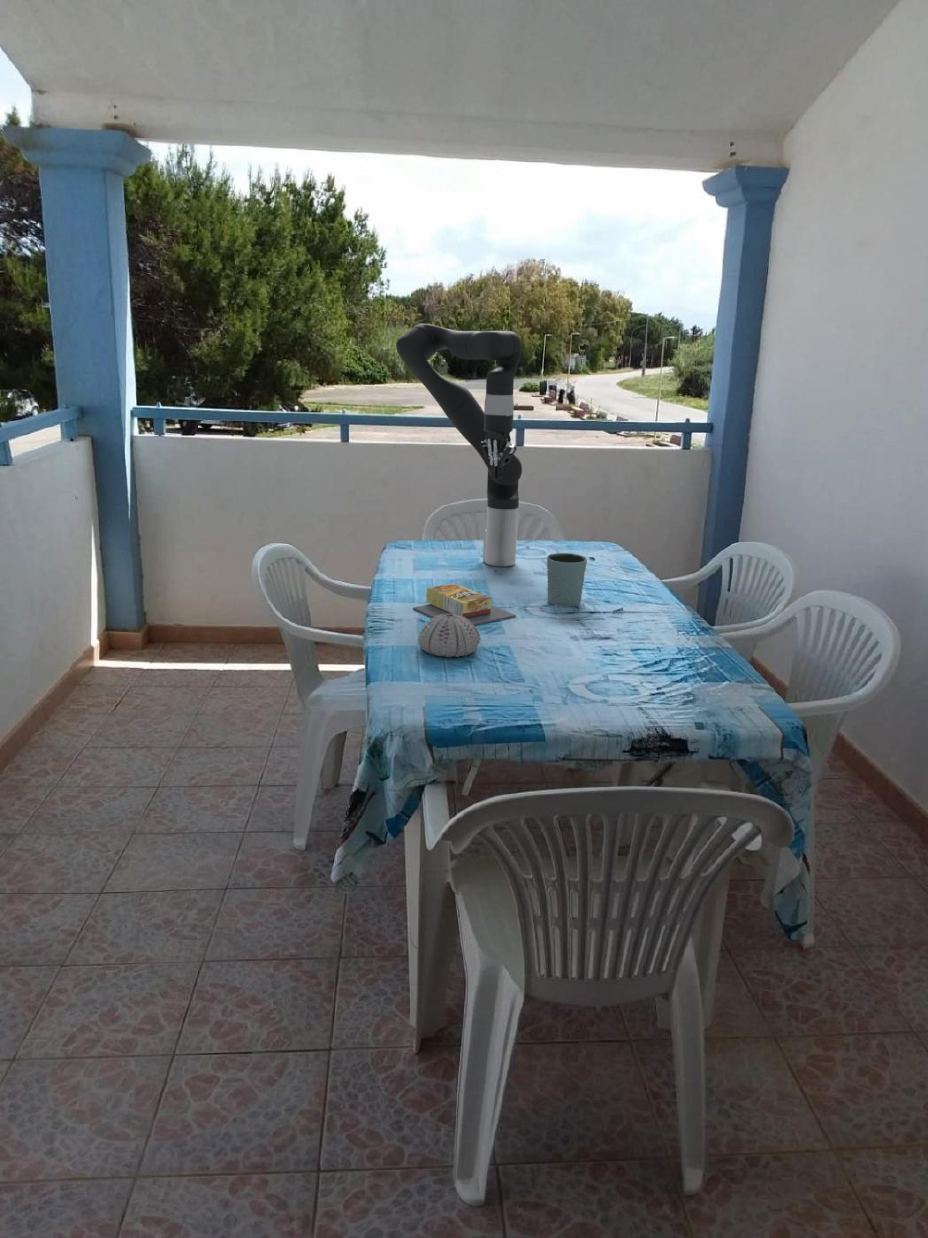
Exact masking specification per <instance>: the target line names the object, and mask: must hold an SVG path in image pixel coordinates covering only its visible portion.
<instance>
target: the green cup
mask: <svg viewBox="0 0 928 1238" xmlns="http://www.w3.org/2000/svg"><path fill="white" fill-rule="evenodd" d="M587 562H588V558H587V557H586V556H583V555H580V554H578V553H572V552H570V553H569V552H557V553H550V554H549V555H547V556H546V567H547V571H546V572H547V573H546V575H547V603H548V602H549V603H548V604H550V605H552V604H553V605H552V606H555V605H557V606H556V607H560V606H562V607H561V608H573V607H577V606H580V605H579V604H582V603H581V601H582V594H583V589H584V588H583V587H584V581H585V573H586V569H587V568H586V567H587Z"/></svg>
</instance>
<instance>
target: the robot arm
mask: <svg viewBox="0 0 928 1238" xmlns="http://www.w3.org/2000/svg"><path fill="white" fill-rule="evenodd" d="M395 343H396V344H395V348H396V352H397V354H398V356H399V358H400V359H401V360H402V362H403V363H404V365H405V366H406V367H407V368H408V369H409V370H410V371H411V372H412V373H413V374H414V376H415V377H416V378H417V379H418V380H419V381H420V382H421V384H422V385H423V386H424V387H425V388H426V389H427V390H428V393H430V395H431V397H433V399H434V400H435V401H436V402H437V403H438V405H439V406H440V408H441V409H442V411H443V413H444V415H446V417H447V418H448V420H450V422H451V424H452V425H453V426H454V428H456V430H457V431H458V433H460V434H461V436H462V437H463V438H464V439H465V440H466V441H467V442H468V443H469V444H470V445H471V446H472V447H473V448H474V449H475V450H476V452H477V453H478V455H479V456H480V458H481V459H482V461H483V462H484V464H485V466H486V468H487V481H486V484H487V489H486V496H487V497H486V498H487V499H486V500H487V506H486V507H487V508H486V529H485V530H484V531H483V547H482V548H483V549H482V552H483V553H482V554H483V555H482V562H484V563H485V564H486V565H489V566H493V567H512V566H514V565H516V555H517V553H516V552H517V540H518V539H517V537H518V524H519V522H518V521H519V520H518V519H519V505H520V500H519V499H520V497H519V480H520V479H521V476H522V472H523V466H522V463H521V460H520V459H519V458H518V457H517V456H516V455H515V453H516V451H517V446H515V445H513V444H512V443H511V440H512V439H511V438H512V437H511V432H513V430H514V412H515V411H514V409H515V408H514V406H515V404H514V401H515V400H514V382H515V381H514V380H515V375H516V373H517V369H518V365H519V363H520V359H521V354H522V342H521V338H520V337H519V335H518V334H517V333H516V332H514V331H510V330H508V331H505V330H483V331H480V330H479V331H478V330H455V329H451V328H446V327H442V326H438V325H434V324H428V323H417V324H416V325H415V326H412V328H411V329H409V330H407V332H405V333H404V334H403V335H402V336H401V337H399V338H398V339H397V341H396V342H395ZM443 350H448V351H449V352H450V353H451V355H453V356H454V357H456V358H459V359H463V360H485V361H498V362H497V365H496V368H495V369H492V370H490V371H488V372H487V374H486V379H485V383H486V384H485V397H484V398H485V399H484V409H483V408H482V406H481V405H480V404H479V403H478V401H477V399H476V398H475V397H474V396H473V394H472V392H470V390H469V389H467V388H466V386H463V385H462V384H460V383H457V382H455V381H452V380H450V379H448V378H445V376H443V375H441V374H440V373H438V372H437V371H436V369H434V367H433V366H432V365H431V364H430V362H429V360H430V359H431V358H432V357H433V356H435V354H436V353H437V352H439V351H443Z"/></svg>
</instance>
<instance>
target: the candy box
mask: <svg viewBox="0 0 928 1238" xmlns="http://www.w3.org/2000/svg"><path fill="white" fill-rule="evenodd" d="M426 603H427V604H428V605H429V604H432V605H434V606H436V607H438V608H440V609H442V610H445V611H447V612H449V613H451V614H457V615H460V616H462V617H464V618H468V617H473V616H478V615H483V614H489V613H491V605H492V598H491V597H489V596H486V595H483V594H481V593H479V592H476V591H474V590H472V589H470V588H467V587H465V586H462V585H459V584H457V583H449V584H442V585H435V586H430V587H427V588H426Z"/></svg>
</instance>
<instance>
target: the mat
mask: <svg viewBox="0 0 928 1238" xmlns="http://www.w3.org/2000/svg"><path fill="white" fill-rule="evenodd" d="M412 609H413V610H414V611H416V612H418V613H420V612H421V613H420V614H422V613H423V615H424V614H425V615H424V616H427V617H429V618H431V619H432V618H434V617H435V616H437V615H441V614H450V613H449V612H447V611H445V610H442V609H440V608H438V607H436V606H434V605H432V604H429V603H428V604H424V605H419V606H413V607H412ZM512 617H514V618H516V617H517V615H516V614H514V613H512V612H509V611H507V610H505V609H502V608H500V607H497V606H495V605H492V604H491V613H489V614H483V615H478V616H473V617H468V618H466V619H468V620H469V621H470V622H471V623H472V624H473V625H474V626H475V627H476V626H479V624H480V625H484V624H483V623H485V624H487V623H486V622H490V623H493V622H492V621H494V622H497V621H496V620H499V621H501V620H500V619H504V620H508V618H509V619H513V618H512Z"/></svg>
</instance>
